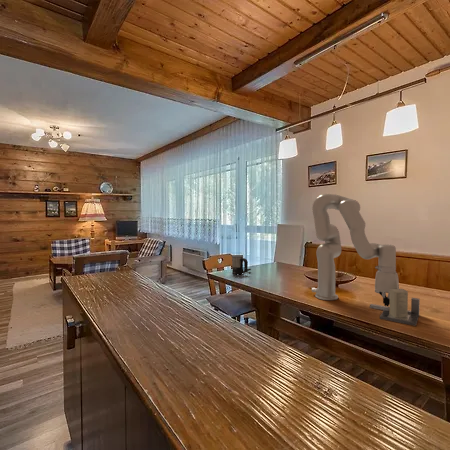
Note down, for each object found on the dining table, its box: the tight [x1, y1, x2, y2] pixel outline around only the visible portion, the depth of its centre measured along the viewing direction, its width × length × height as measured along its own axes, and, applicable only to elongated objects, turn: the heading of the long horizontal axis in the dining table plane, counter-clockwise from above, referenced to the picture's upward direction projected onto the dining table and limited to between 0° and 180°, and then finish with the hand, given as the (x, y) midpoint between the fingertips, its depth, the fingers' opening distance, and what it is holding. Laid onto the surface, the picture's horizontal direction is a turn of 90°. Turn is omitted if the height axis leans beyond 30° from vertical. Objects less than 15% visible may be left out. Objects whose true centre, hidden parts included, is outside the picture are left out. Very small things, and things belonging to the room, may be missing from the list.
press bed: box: [379, 310, 419, 327], centre depth 131 cm, size 14×10×1 cm
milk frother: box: [231, 254, 252, 275], centre depth 231 cm, size 14×16×15 cm
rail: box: [369, 297, 420, 318], centre depth 140 cm, size 21×3×8 cm, turn 51°
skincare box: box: [388, 288, 409, 317], centre depth 131 cm, size 6×4×12 cm
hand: (386, 305), depth 142 cm, fingers closed
